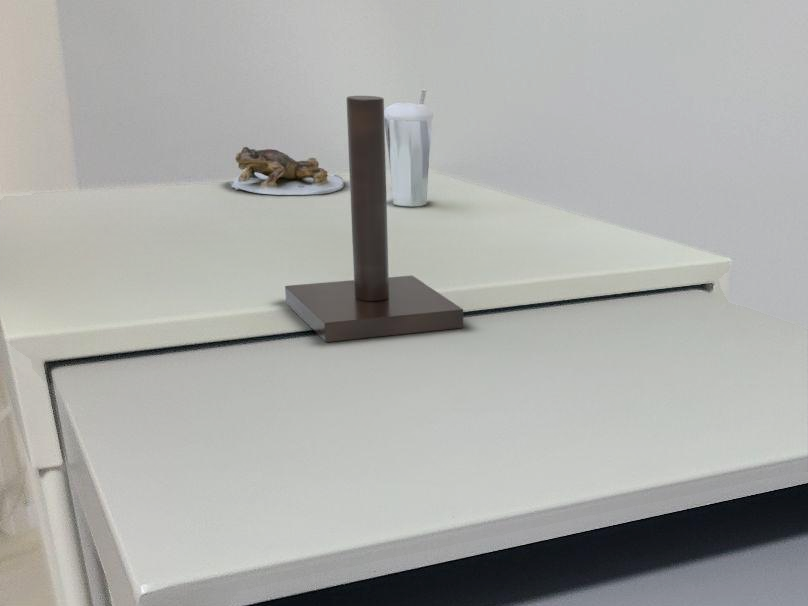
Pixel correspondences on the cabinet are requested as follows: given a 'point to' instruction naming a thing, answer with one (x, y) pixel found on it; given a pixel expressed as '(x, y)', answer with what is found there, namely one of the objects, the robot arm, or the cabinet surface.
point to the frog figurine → (282, 174)
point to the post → (370, 255)
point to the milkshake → (409, 150)
